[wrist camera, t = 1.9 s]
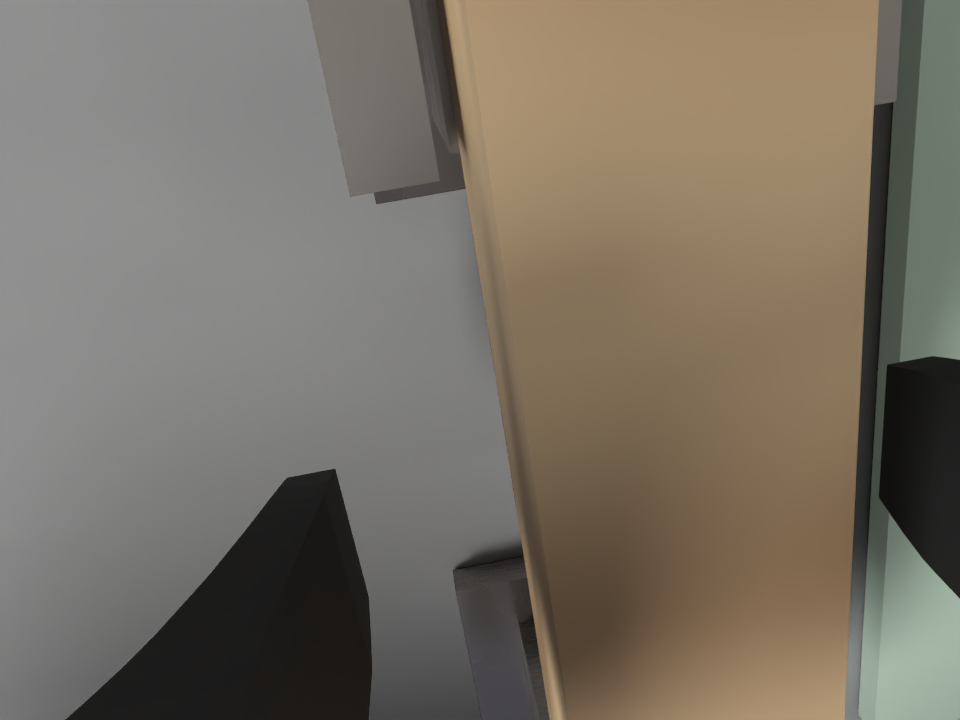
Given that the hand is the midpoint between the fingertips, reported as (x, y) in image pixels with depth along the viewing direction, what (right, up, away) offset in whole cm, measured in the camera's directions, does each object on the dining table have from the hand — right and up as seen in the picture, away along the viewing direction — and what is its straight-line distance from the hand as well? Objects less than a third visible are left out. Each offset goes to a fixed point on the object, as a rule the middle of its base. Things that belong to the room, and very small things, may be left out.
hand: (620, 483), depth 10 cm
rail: (0, 0, 0) cm, 0 cm away
